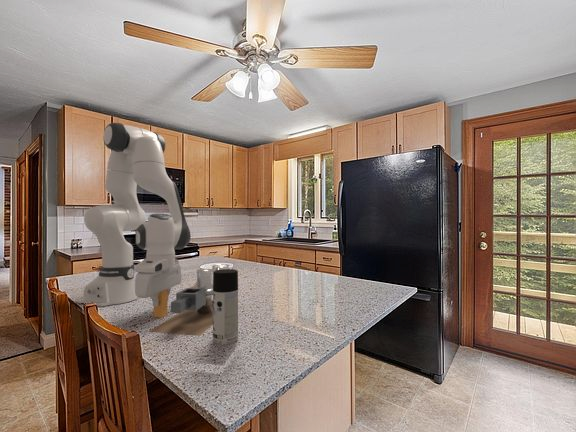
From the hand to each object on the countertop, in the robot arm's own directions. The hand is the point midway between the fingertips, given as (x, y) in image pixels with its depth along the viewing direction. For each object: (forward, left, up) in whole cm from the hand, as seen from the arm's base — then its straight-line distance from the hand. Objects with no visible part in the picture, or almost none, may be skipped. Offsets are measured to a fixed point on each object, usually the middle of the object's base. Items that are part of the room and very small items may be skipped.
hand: (160, 303), depth 99 cm
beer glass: (+13, +20, -6) cm, 24 cm away
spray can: (+29, -14, -6) cm, 32 cm away
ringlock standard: (+13, 0, -4) cm, 13 cm away
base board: (+13, 0, -5) cm, 14 cm away
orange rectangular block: (0, 0, -4) cm, 4 cm away
